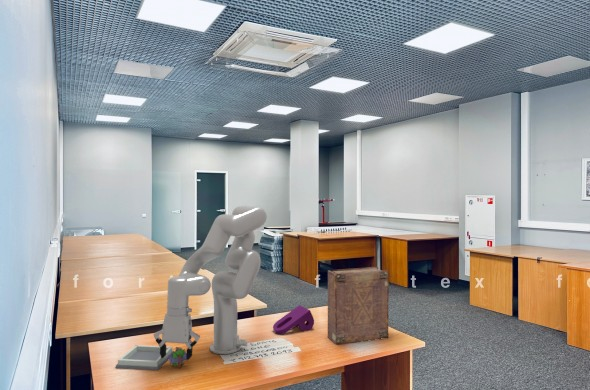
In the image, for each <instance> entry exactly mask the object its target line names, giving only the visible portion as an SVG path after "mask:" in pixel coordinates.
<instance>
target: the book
mask: <svg viewBox="0 0 590 390" xmlns="http://www.w3.org/2000/svg"><path fill="white" fill-rule="evenodd" d="M389 273H390V272H389V271H388V270H381V269H379V266H371V267H370V266H369V267H357V268H345V269H344V268H343V269H342V268H341V269H329V270H327V338H328V339H329V340H330V341H332V342H333V343H334V344H335V345H336V344H338V345H345V344H352V343H360V342H361V341H363V342H369V341H368V340H371V341H376V340H375V339H379V340H382V339H381V338H387V339H389V292H390V291H389V287H390V286H389V281H390V279H389Z"/></svg>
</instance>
